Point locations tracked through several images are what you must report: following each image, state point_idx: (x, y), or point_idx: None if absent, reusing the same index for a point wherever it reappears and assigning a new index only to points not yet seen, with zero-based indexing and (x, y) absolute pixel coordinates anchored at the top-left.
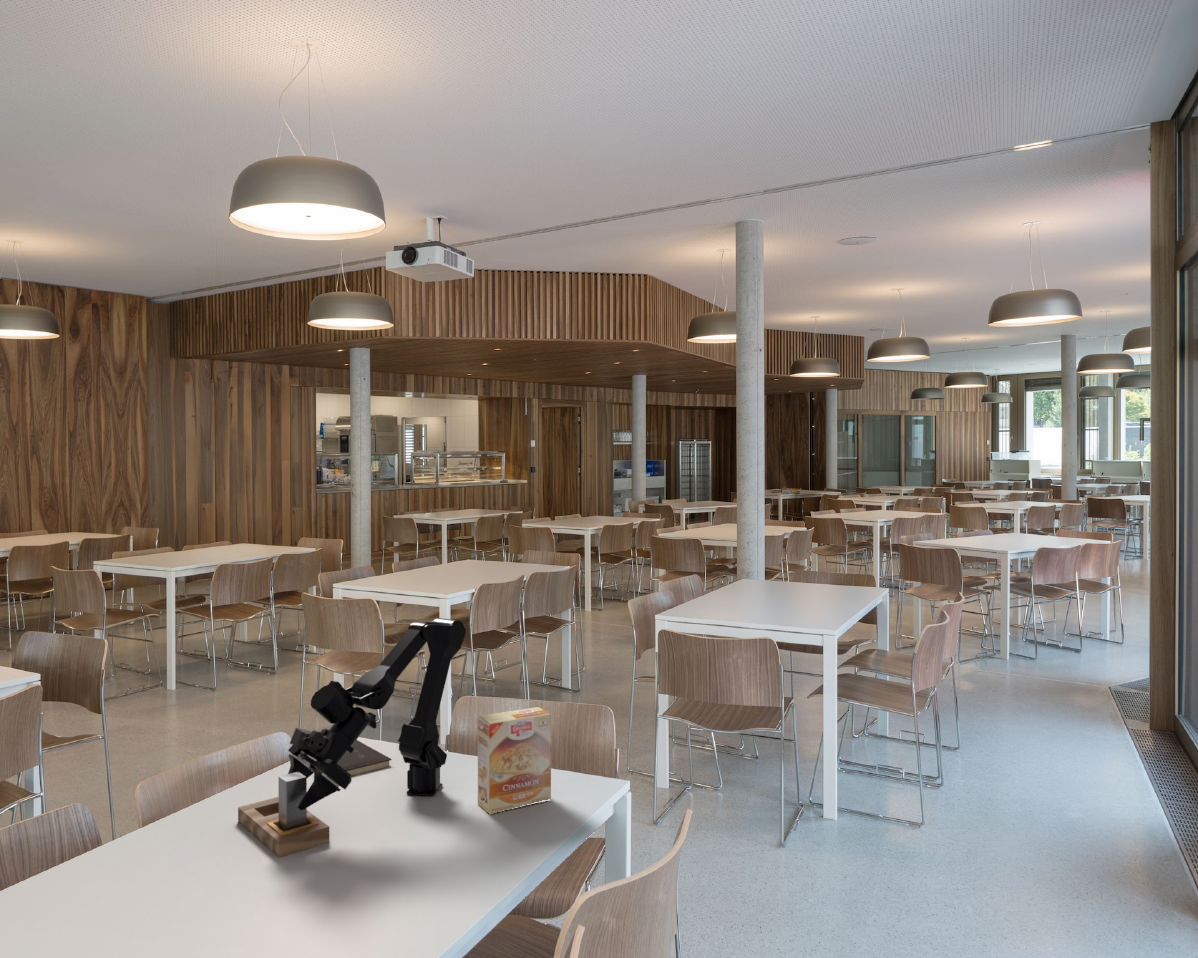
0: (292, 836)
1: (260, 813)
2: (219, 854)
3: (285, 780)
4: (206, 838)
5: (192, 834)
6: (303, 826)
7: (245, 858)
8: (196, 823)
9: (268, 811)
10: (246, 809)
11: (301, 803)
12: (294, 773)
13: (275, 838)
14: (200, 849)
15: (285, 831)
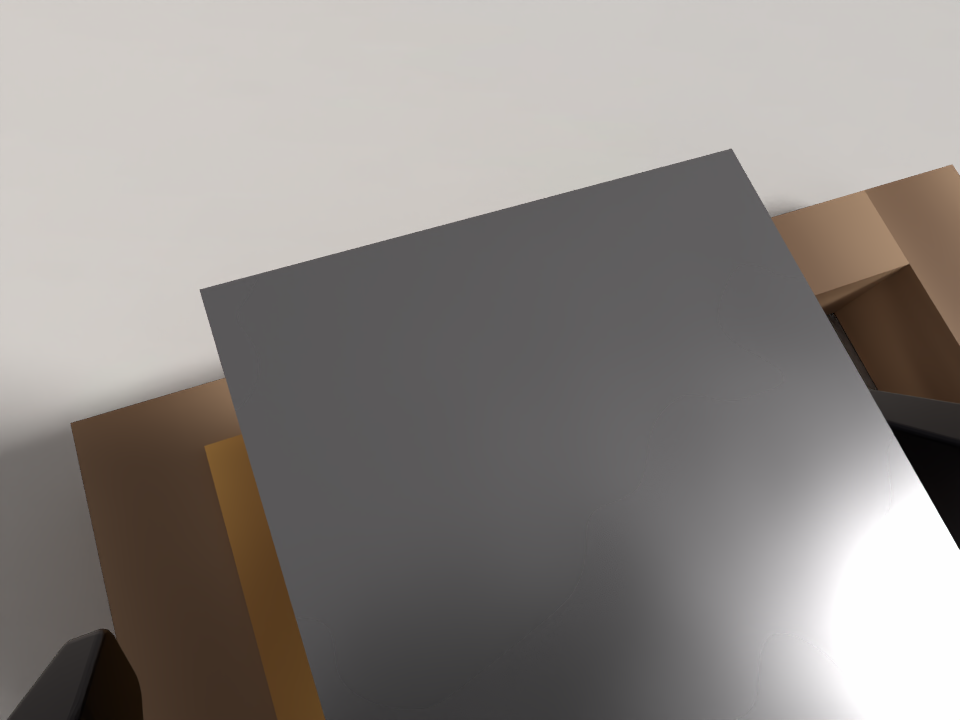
0: (126, 562)
1: (896, 331)
2: (381, 106)
3: (353, 277)
4: (655, 60)
5: (733, 5)
6: (303, 688)
7: (234, 239)
8: (883, 30)
9: (928, 389)
10: (898, 214)
11: (24, 702)
12: (880, 550)
13: (163, 399)
14: (503, 26)
15: (251, 492)
